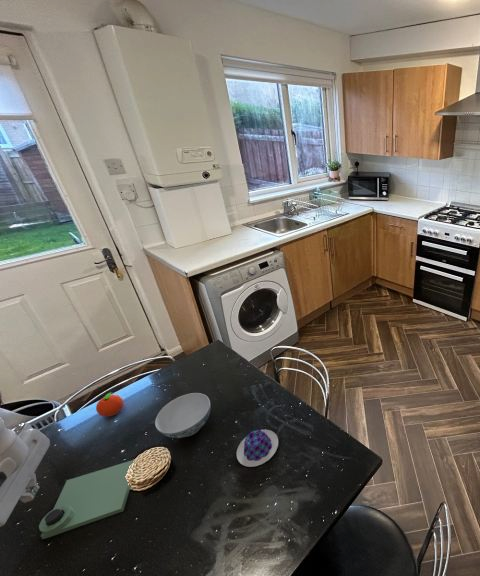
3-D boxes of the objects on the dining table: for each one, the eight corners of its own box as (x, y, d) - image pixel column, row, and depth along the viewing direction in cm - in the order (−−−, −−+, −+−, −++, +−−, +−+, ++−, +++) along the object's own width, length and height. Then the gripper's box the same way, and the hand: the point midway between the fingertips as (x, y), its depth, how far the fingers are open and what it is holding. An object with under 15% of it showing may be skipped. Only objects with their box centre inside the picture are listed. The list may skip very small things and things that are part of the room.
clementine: (107, 405, 108) (98, 390, 105) (130, 399, 111) (122, 385, 107) (98, 423, 102) (87, 409, 98) (123, 417, 104) (114, 403, 101)
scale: (40, 541, 74) (33, 535, 72) (67, 483, 85) (62, 477, 84) (123, 512, 79) (118, 506, 78) (137, 461, 91) (133, 455, 89)
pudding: (235, 440, 97) (231, 430, 94) (274, 425, 101) (272, 414, 99) (239, 475, 87) (234, 464, 85) (282, 456, 92) (279, 446, 90)
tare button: (45, 527, 74) (42, 523, 73) (51, 514, 76) (48, 511, 76) (60, 522, 75) (57, 518, 74) (65, 510, 77) (62, 506, 77)
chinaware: (214, 439, 97) (207, 423, 93) (159, 456, 92) (149, 440, 88) (217, 403, 109) (211, 387, 105) (168, 416, 104) (160, 400, 101)
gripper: (5, 423, 71) (38, 459, 78) (-66, 516, 55) (-16, 552, 61) (40, 414, 73) (69, 450, 80) (-18, 502, 57) (25, 537, 64)
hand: (32, 495), depth 71 cm, fingers closed
